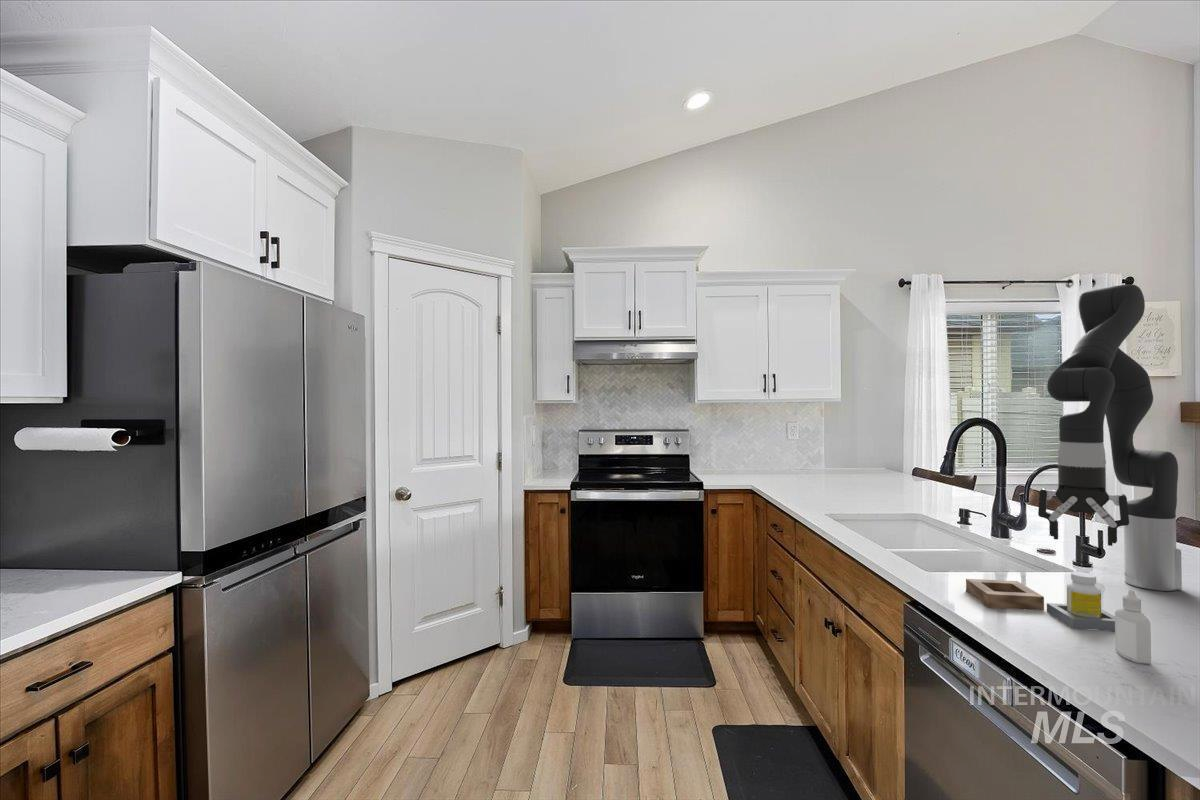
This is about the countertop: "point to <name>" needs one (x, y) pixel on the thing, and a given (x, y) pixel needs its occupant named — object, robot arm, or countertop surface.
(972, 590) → the socket block
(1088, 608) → the supplement bottle
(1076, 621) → the holder
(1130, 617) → the eye dropper bottle
